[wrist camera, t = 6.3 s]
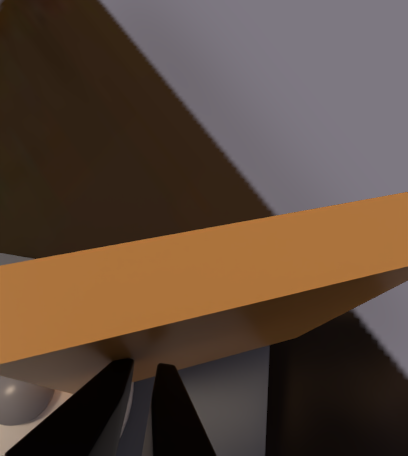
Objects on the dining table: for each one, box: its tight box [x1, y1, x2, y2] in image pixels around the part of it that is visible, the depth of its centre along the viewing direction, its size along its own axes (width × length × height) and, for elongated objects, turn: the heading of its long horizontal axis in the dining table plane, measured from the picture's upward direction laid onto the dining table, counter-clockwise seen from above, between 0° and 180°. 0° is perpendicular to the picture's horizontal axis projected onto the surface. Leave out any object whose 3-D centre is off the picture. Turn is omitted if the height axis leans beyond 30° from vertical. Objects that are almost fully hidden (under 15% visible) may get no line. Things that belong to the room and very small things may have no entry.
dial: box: [0, 192, 408, 456], centre depth 11 cm, size 15×8×10 cm, turn 105°
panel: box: [0, 253, 270, 456], centre depth 14 cm, size 12×14×4 cm
